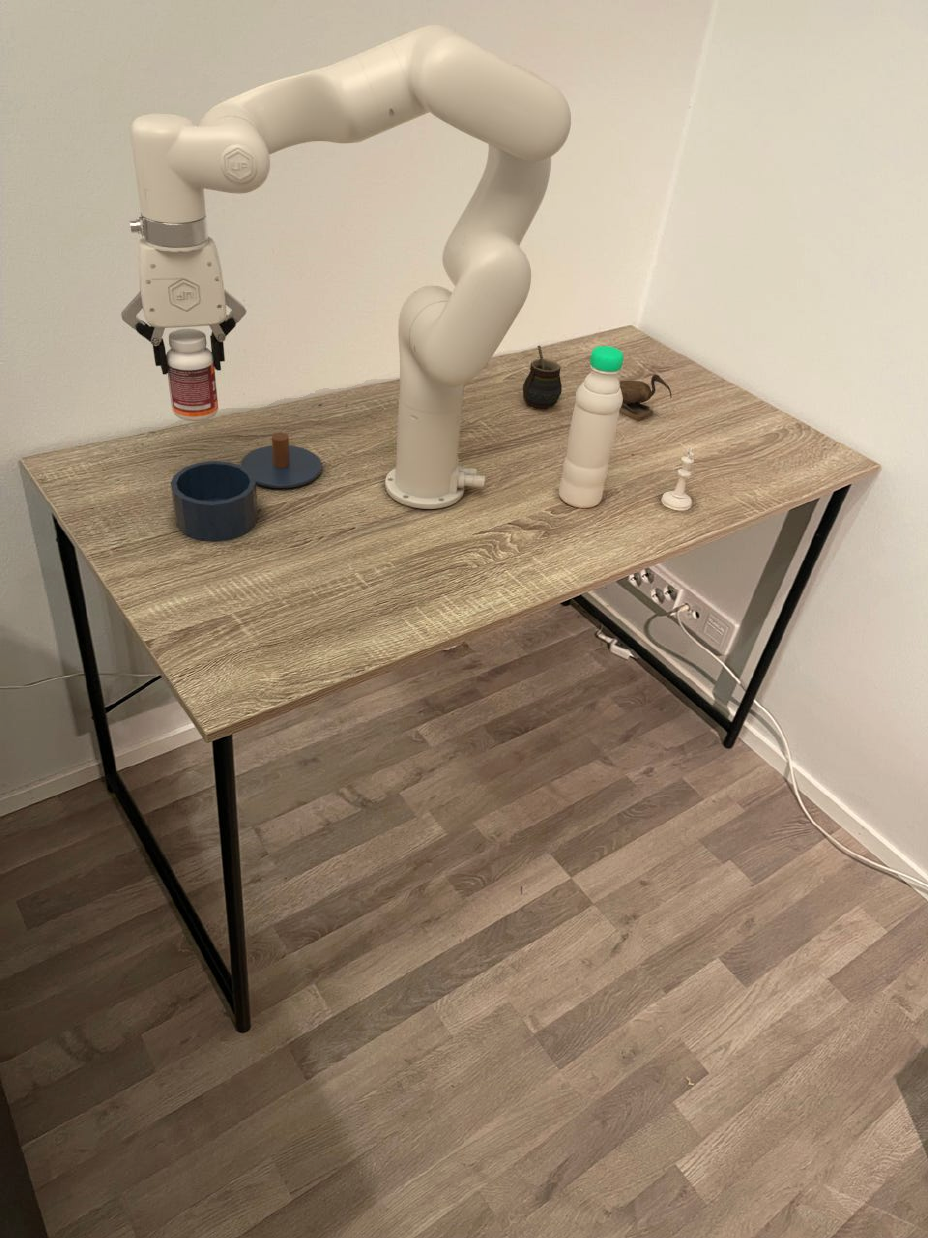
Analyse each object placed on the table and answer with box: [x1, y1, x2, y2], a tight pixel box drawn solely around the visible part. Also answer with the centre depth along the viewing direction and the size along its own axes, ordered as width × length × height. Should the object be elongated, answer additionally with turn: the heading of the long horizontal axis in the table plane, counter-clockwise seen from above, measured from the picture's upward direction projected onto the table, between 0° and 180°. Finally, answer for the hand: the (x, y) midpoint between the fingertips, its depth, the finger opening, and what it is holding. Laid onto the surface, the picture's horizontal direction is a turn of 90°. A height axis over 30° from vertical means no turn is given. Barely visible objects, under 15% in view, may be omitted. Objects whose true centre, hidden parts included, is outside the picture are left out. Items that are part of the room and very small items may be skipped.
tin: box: [170, 460, 259, 542], centre depth 135 cm, size 12×12×6 cm
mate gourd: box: [522, 345, 563, 411], centre depth 172 cm, size 7×8×10 cm
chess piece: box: [660, 447, 695, 512], centre depth 149 cm, size 5×5×10 cm
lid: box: [240, 432, 322, 489], centre depth 147 cm, size 13×13×6 cm
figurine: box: [619, 374, 672, 422], centre depth 173 cm, size 14×4×9 cm, turn 45°
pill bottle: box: [166, 328, 219, 422], centre depth 126 cm, size 6×6×11 cm
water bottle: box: [558, 345, 624, 509], centre depth 142 cm, size 7×7×25 cm
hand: (190, 366), depth 125 cm, fingers closed on pill bottle, 6 cm apart
